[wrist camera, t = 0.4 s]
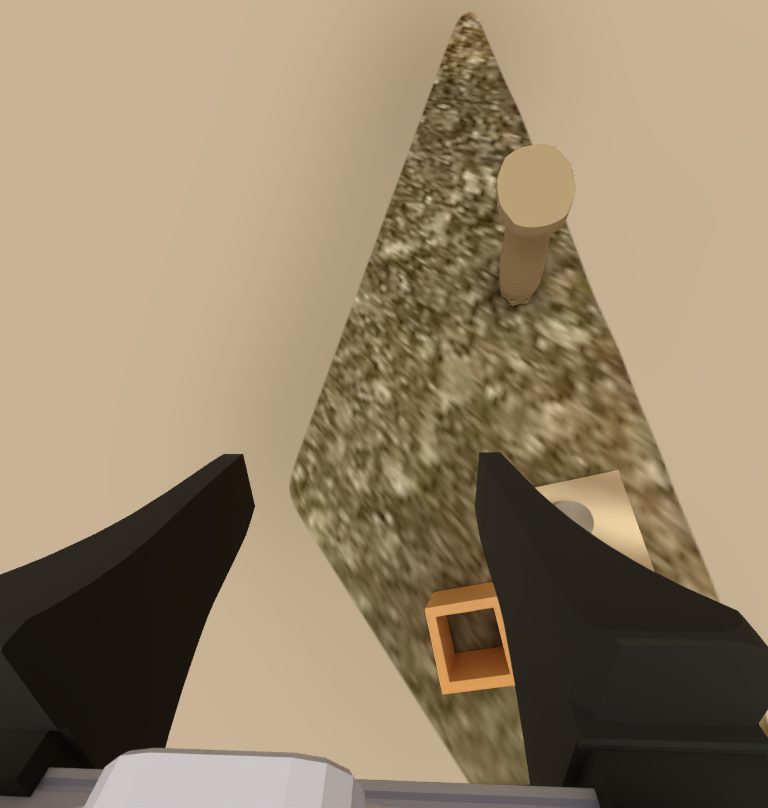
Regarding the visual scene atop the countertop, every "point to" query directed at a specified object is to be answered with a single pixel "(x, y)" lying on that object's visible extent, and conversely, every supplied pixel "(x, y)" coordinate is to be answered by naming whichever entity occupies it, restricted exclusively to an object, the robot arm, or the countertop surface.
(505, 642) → the sleeve
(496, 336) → the countertop surface
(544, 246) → the handle
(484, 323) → the countertop surface
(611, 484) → the fitting board
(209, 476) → the robot arm
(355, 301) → the countertop surface
